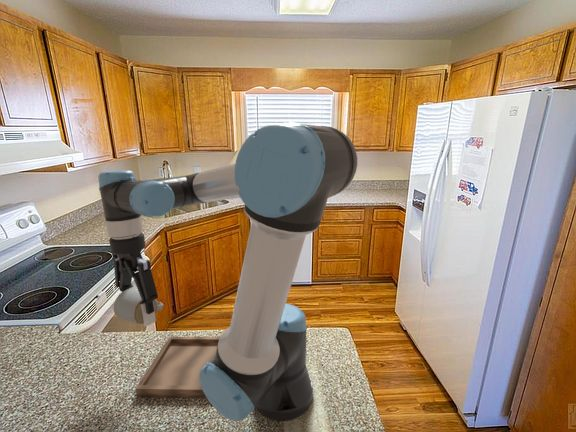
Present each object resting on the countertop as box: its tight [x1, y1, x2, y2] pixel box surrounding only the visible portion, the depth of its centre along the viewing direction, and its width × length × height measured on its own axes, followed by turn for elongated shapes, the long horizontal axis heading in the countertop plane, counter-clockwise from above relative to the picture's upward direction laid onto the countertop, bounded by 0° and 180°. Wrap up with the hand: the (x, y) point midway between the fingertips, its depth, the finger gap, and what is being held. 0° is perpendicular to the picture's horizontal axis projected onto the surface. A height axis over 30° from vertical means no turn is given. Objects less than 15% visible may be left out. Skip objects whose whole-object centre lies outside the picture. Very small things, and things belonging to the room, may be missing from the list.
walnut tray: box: [135, 336, 220, 399], centre depth 81 cm, size 20×20×2 cm
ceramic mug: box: [113, 288, 164, 325], centre depth 77 cm, size 11×8×8 cm
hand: (140, 318), depth 76 cm, fingers closed on ceramic mug, 9 cm apart
